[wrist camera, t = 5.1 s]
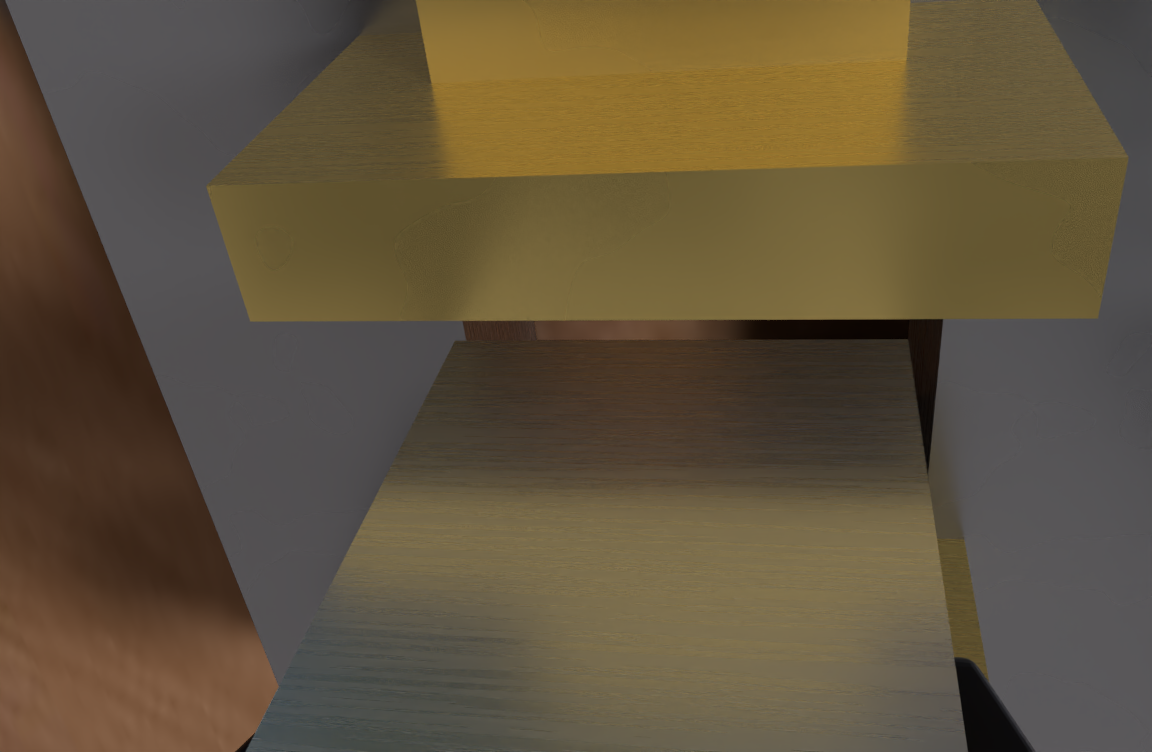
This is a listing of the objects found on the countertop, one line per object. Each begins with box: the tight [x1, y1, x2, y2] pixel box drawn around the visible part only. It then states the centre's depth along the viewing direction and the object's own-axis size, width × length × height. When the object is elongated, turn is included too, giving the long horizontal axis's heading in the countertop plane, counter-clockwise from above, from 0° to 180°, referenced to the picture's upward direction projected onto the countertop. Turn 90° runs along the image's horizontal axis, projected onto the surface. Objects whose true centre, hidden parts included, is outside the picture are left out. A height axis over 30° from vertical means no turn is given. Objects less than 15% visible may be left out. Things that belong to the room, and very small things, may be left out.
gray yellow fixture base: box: [5, 0, 1152, 752], centre depth 12 cm, size 14×16×8 cm
